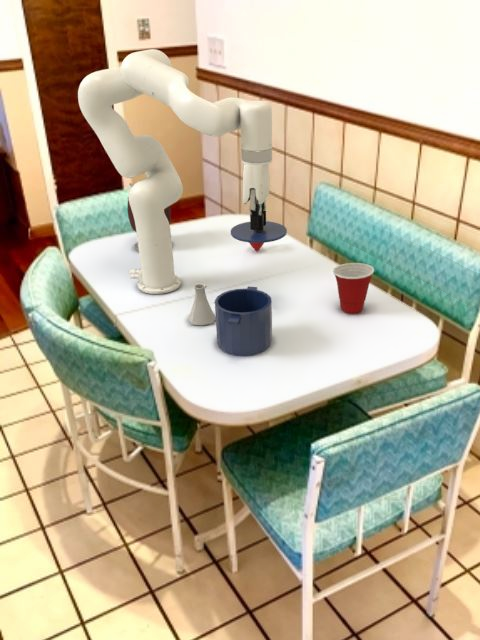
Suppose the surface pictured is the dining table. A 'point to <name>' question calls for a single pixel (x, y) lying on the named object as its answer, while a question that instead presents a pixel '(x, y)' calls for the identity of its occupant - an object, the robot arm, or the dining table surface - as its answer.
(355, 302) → the plastic cup
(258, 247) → the strawberry
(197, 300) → the flask
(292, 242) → the dining table surface
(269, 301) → the pot
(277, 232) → the pot lid
